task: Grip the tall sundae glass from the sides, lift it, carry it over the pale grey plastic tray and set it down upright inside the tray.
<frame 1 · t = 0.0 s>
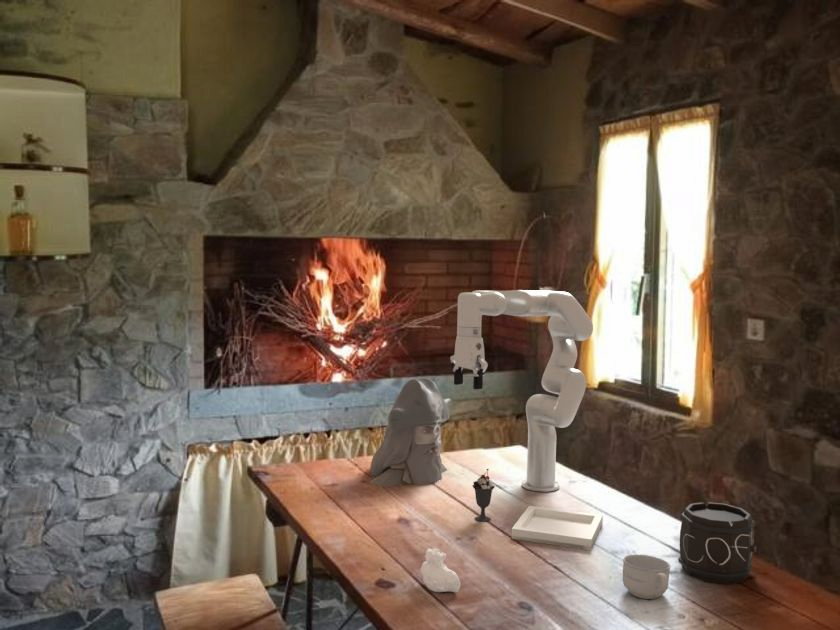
hand: (467, 386, 262), 37 cm above the table, tool pointing down, fingers open, 9 cm apart
teacup: (647, 597, 197), on the table
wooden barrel: (716, 573, 212), on the table
tray: (558, 531, 240), on the table
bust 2: (437, 590, 199), on the table
sundae: (482, 519, 250), on the table
bust: (411, 476, 295), on the table
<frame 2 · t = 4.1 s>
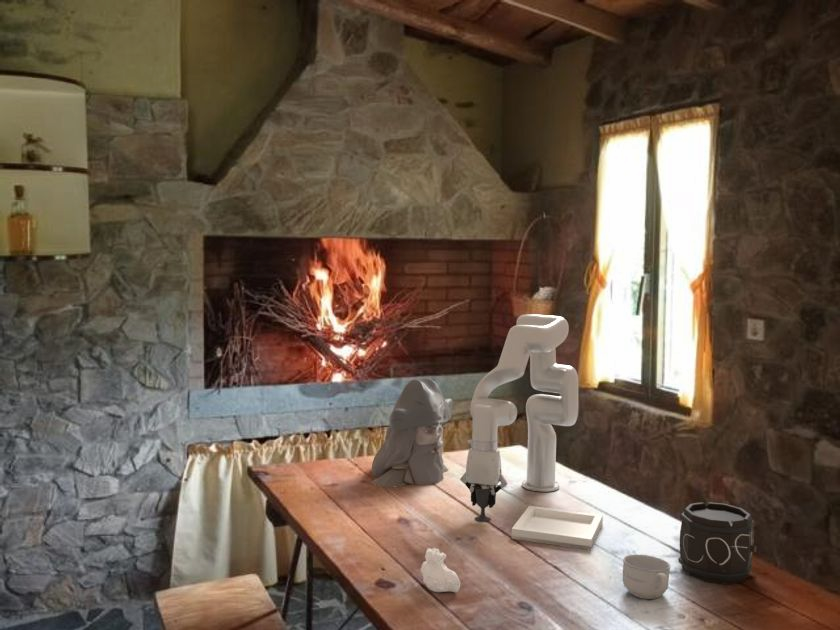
hand: (483, 504, 249), 4 cm above the table, tool pointing down, fingers closed on sundae, 4 cm apart
sundae: (482, 519, 250), on the table, touching gripper
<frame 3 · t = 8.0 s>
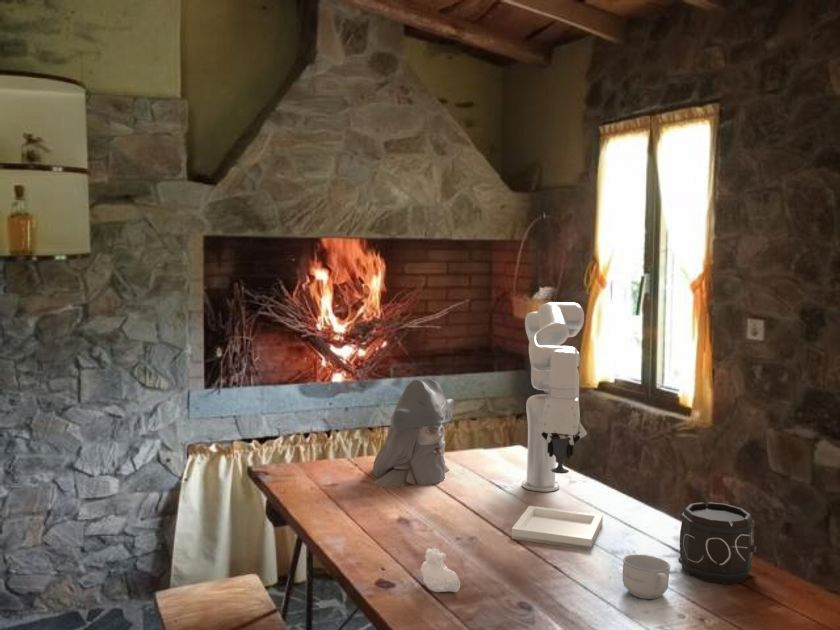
hand: (560, 456, 238), 22 cm above the table, tool pointing down, fingers closed on sundae, 4 cm apart
sundae: (559, 471, 238), point 18 cm above the table, touching gripper
when the fingers open (6 cm above the table, at t = 11.8 s): sundae stays where it is, resting on tray.
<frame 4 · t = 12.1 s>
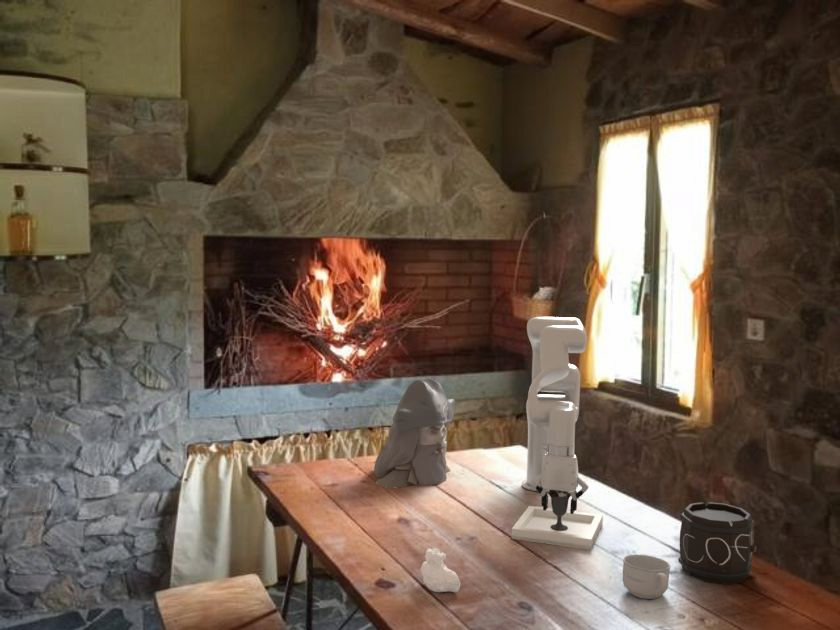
hand: (558, 510, 239), 6 cm above the table, tool pointing down, fingers open, 7 cm apart
sundae: (559, 528, 240), point 1 cm above the table, touching tray
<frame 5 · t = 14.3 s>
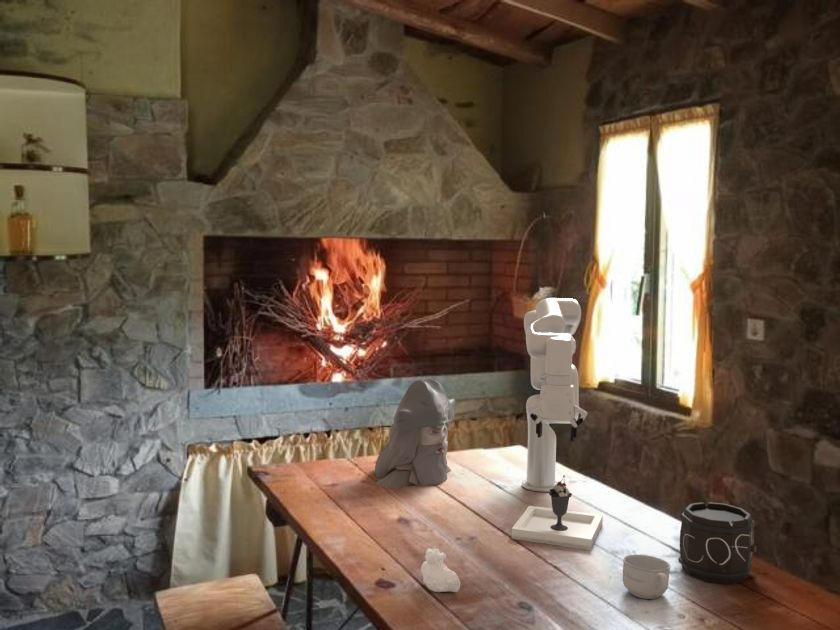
hand: (556, 438, 243), 26 cm above the table, tool pointing down, fingers open, 9 cm apart
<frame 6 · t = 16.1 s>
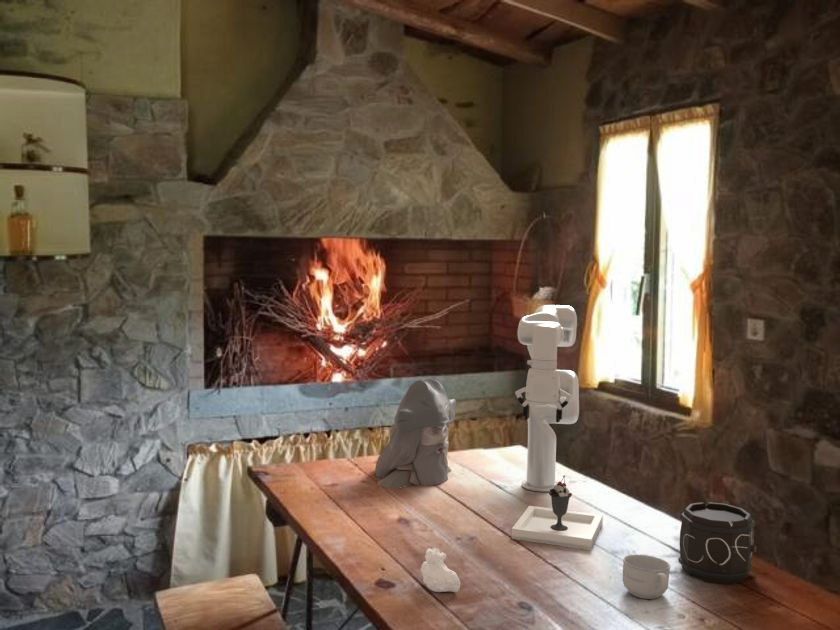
hand: (542, 420, 256), 28 cm above the table, tool pointing down, fingers open, 9 cm apart
at the end: sundae inside the target area on the tray (0.4 cm from its centre), point 0.8 cm above the tray's base; sundae tilted 0°; the gripper is holding nothing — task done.
